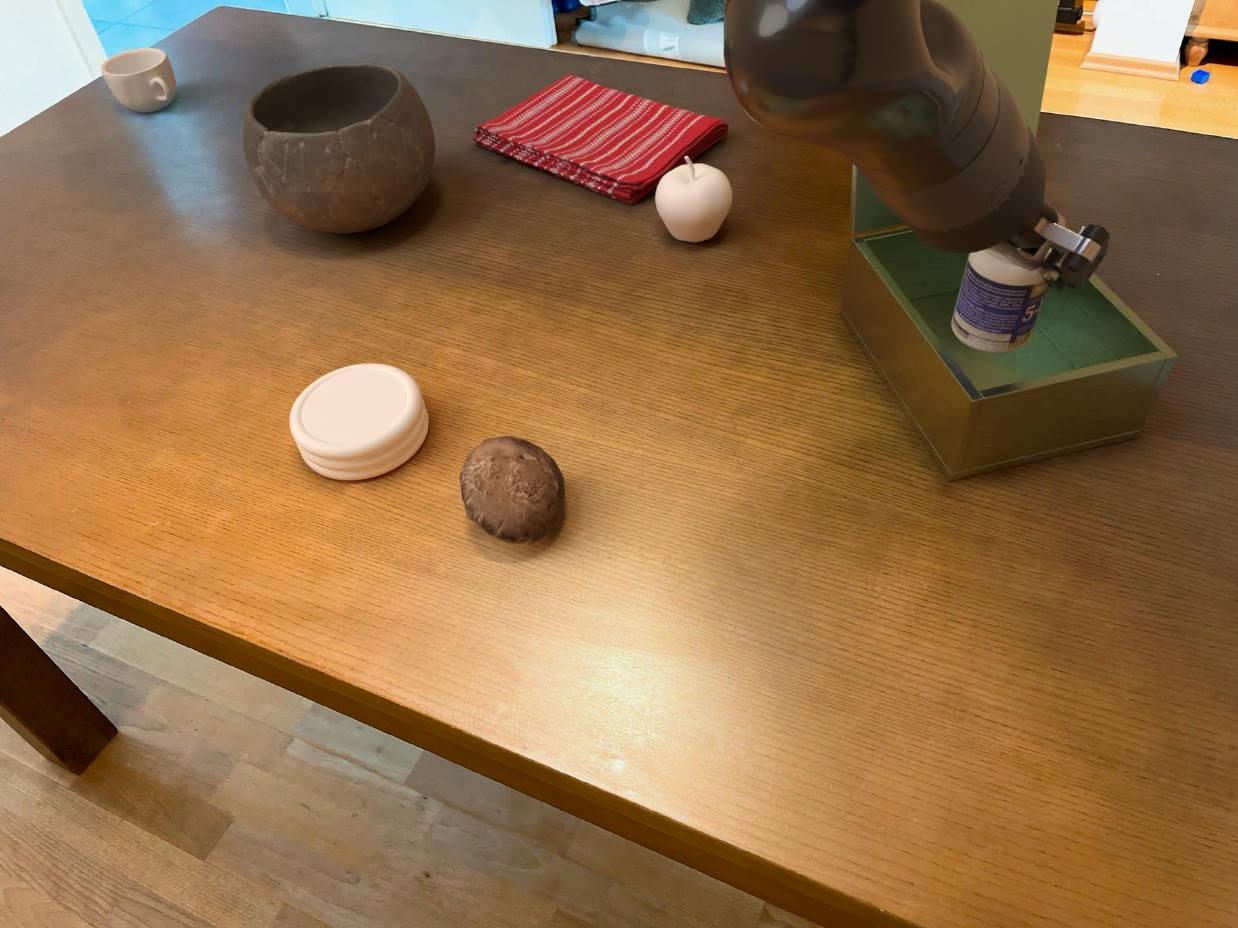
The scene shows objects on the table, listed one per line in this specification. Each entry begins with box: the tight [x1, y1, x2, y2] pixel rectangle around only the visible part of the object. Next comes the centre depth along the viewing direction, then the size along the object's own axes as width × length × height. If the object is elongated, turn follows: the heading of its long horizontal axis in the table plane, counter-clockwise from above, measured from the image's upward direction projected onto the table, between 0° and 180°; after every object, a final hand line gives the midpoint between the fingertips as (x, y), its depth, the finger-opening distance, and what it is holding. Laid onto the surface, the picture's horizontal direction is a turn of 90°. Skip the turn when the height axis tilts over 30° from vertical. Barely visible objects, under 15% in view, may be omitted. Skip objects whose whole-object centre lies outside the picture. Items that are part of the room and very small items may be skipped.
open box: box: [839, 225, 1179, 482], centre depth 69 cm, size 20×15×8 cm
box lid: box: [849, 0, 1060, 234], centre depth 68 cm, size 20×15×4 cm
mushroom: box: [459, 435, 566, 546], centre depth 63 cm, size 8×8×6 cm
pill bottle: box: [952, 248, 1052, 353], centre depth 60 cm, size 5×5×9 cm
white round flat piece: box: [288, 362, 430, 481], centre depth 70 cm, size 10×10×4 cm
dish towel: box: [472, 74, 730, 205], centre depth 100 cm, size 17×24×3 cm
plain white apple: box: [654, 156, 733, 243], centre depth 85 cm, size 7×7×8 cm
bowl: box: [242, 62, 436, 234], centre depth 89 cm, size 18×18×13 cm
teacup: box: [100, 47, 177, 113], centre depth 112 cm, size 10×8×5 cm
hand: (1024, 256), depth 61 cm, fingers closed on pill bottle, 5 cm apart
